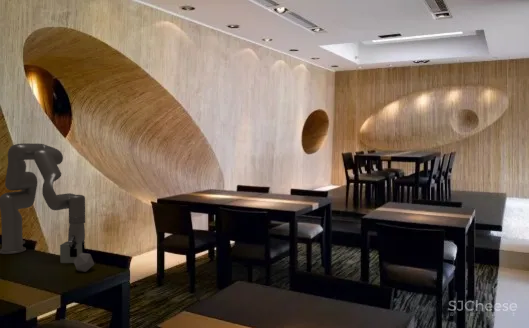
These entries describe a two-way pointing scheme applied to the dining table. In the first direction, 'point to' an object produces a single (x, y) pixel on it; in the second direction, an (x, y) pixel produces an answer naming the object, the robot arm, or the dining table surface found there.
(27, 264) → the dining table surface
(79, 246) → the grey block
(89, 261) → the die
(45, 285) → the dining table surface
